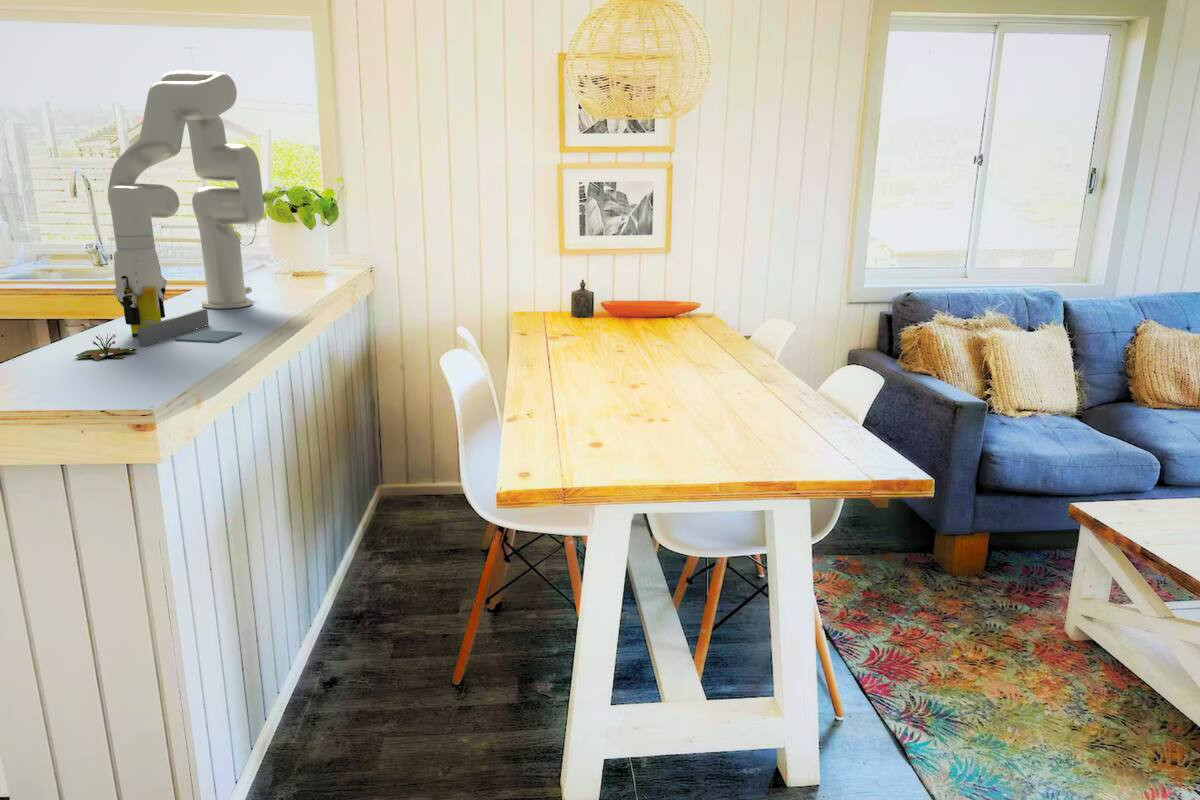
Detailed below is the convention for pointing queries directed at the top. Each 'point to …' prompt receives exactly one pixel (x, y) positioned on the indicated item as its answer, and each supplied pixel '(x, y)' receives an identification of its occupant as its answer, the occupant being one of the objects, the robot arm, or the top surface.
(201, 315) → the low wall
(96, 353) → the lily flower
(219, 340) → the rubber mat
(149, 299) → the supplement box
